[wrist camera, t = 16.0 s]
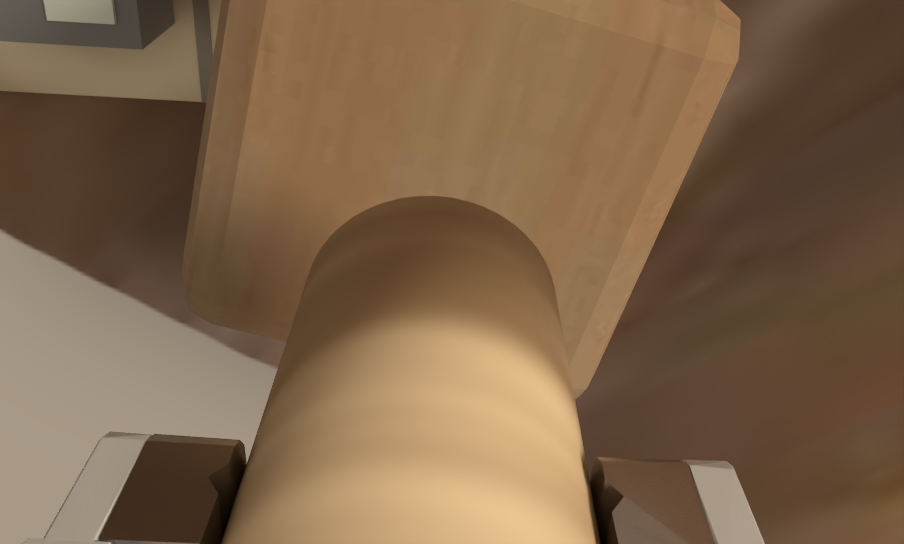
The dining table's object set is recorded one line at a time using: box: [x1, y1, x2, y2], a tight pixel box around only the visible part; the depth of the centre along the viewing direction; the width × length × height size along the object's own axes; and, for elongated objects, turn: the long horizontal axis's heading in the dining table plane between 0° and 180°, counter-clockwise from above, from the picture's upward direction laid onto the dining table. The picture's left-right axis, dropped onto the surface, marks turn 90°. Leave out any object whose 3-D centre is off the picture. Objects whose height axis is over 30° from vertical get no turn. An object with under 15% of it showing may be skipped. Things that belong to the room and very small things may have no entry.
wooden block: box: [181, 0, 741, 399], centre depth 26 cm, size 10×10×20 cm
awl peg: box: [221, 196, 601, 544], centre depth 10 cm, size 4×4×9 cm
